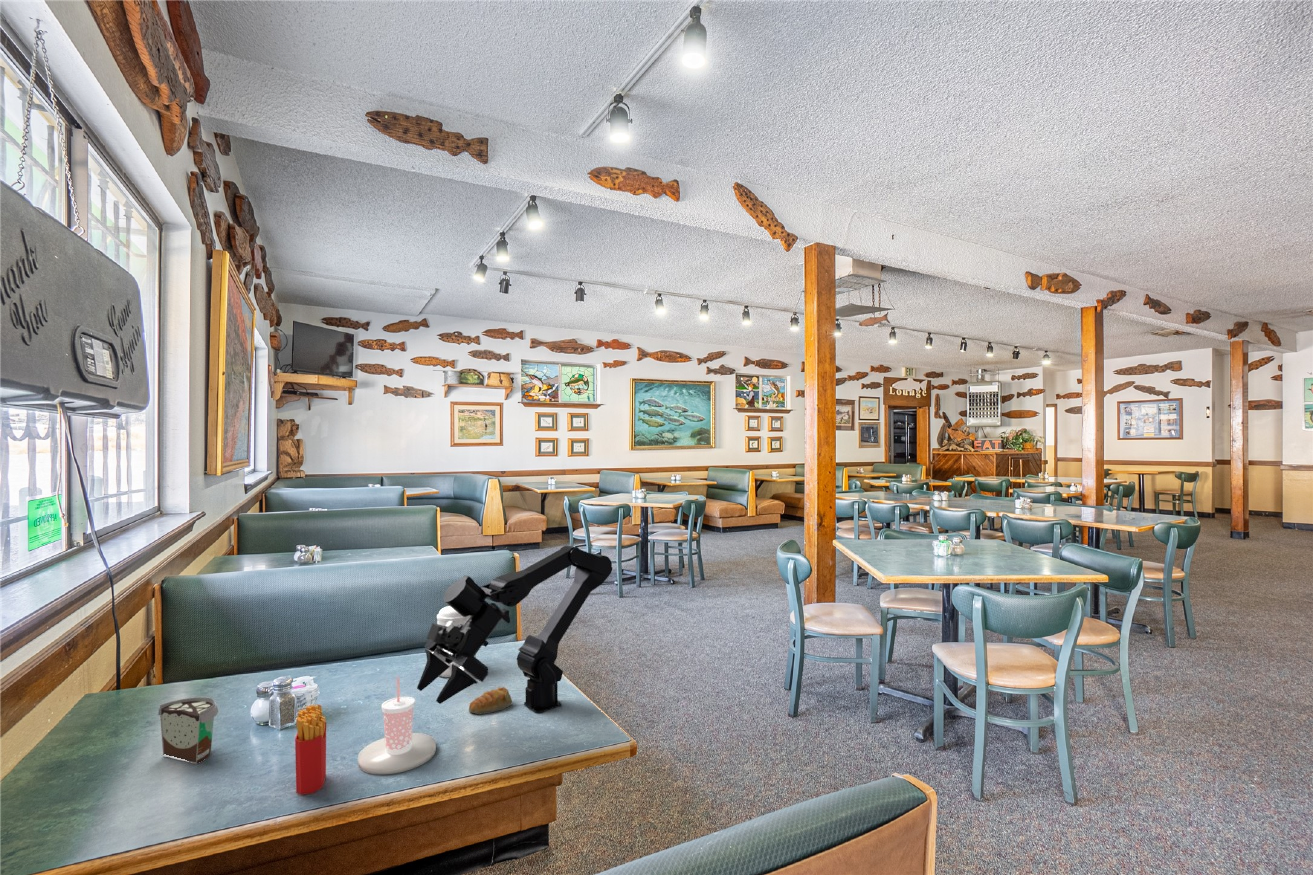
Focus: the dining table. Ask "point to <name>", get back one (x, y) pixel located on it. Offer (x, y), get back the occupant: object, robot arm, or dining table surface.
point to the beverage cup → (398, 723)
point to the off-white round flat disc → (396, 756)
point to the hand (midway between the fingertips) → (428, 695)
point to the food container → (188, 728)
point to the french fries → (310, 750)
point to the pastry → (491, 701)
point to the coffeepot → (448, 618)
